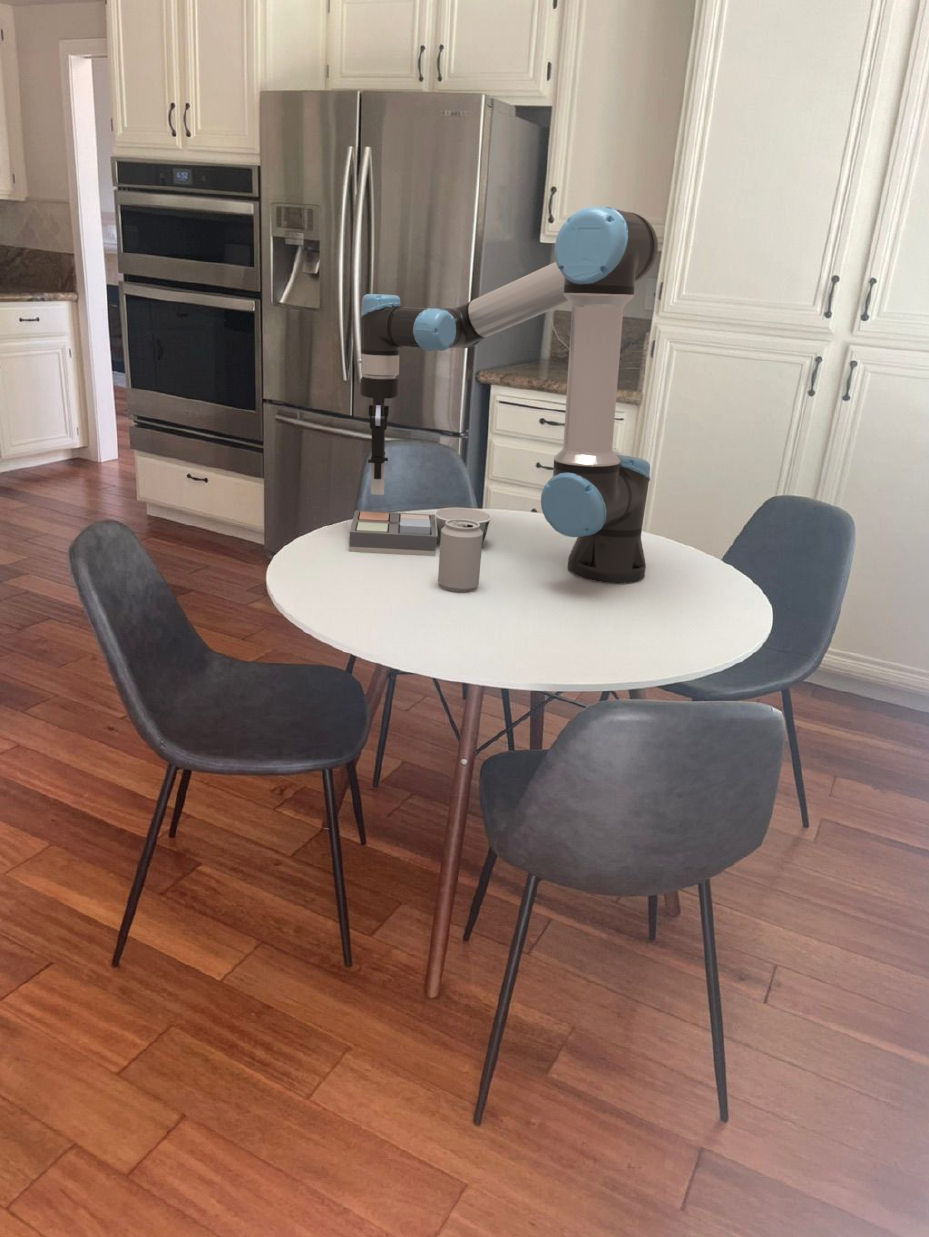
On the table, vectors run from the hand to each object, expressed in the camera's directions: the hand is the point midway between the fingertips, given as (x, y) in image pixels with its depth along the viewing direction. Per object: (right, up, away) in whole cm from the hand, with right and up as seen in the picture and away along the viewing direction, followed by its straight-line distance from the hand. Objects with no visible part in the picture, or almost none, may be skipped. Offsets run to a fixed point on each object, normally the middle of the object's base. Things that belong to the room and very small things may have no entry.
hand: (377, 493), depth 194 cm
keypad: (+3, -10, 0) cm, 11 cm away
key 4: (+7, -7, +4) cm, 11 cm away
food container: (+17, -11, +2) cm, 20 cm away
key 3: (+8, -9, -5) cm, 13 cm away
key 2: (-1, -7, +3) cm, 7 cm away
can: (+17, -20, -24) cm, 36 cm away
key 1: (-1, -10, -5) cm, 11 cm away
